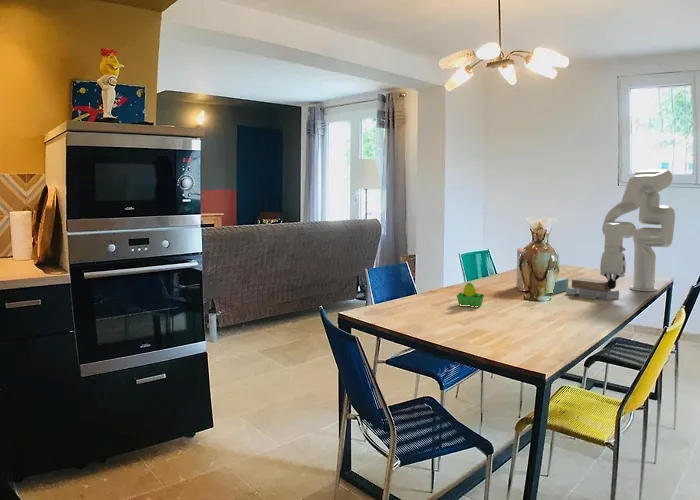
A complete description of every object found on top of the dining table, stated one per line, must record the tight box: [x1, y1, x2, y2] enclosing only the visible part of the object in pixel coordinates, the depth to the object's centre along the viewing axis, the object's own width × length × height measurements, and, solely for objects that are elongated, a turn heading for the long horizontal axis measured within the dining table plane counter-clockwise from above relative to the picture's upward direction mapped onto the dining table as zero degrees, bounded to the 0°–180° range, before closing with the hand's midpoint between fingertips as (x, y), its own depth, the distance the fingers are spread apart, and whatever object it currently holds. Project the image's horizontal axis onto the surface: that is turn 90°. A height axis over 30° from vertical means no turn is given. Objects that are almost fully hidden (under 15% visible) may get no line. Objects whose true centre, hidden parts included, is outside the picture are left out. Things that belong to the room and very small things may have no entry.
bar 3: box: [588, 290, 599, 300], centre depth 261 cm, size 9×4×4 cm, turn 131°
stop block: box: [552, 277, 569, 295], centre depth 275 cm, size 14×3×6 cm, turn 132°
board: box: [571, 276, 610, 292], centre depth 262 cm, size 9×15×4 cm, turn 41°
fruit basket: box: [456, 282, 485, 308], centre depth 245 cm, size 11×9×11 cm
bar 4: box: [598, 288, 620, 301], centre depth 256 cm, size 9×4×4 cm, turn 120°
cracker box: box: [515, 247, 524, 292], centre depth 282 cm, size 14×6×21 cm, turn 168°
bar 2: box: [578, 289, 588, 298], centre depth 264 cm, size 9×4×4 cm, turn 139°
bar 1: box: [565, 285, 579, 296], centre depth 269 cm, size 8×4×3 cm, turn 135°
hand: (611, 288), depth 255 cm, fingers closed
